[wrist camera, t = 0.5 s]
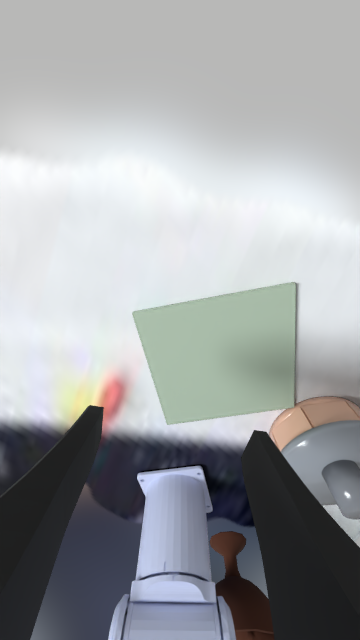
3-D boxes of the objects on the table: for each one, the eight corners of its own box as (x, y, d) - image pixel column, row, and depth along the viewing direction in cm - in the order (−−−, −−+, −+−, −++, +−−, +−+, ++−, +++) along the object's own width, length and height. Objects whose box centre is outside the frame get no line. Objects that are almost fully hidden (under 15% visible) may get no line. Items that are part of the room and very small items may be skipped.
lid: (386, 490, 24) (420, 536, 21) (275, 501, 25) (291, 547, 22) (409, 411, 19) (459, 455, 16) (272, 429, 20) (291, 474, 17)
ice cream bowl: (247, 514, 32) (294, 733, 19) (272, 548, 37) (326, 748, 23) (179, 532, 35) (178, 740, 21) (211, 562, 39) (227, 752, 25)
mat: (292, 404, 24) (294, 407, 23) (167, 421, 25) (167, 424, 24) (293, 282, 18) (295, 283, 18) (133, 311, 19) (132, 313, 19)
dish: (358, 455, 27) (381, 487, 24) (270, 465, 28) (281, 497, 25) (371, 389, 23) (400, 417, 20) (267, 404, 24) (280, 433, 21)
